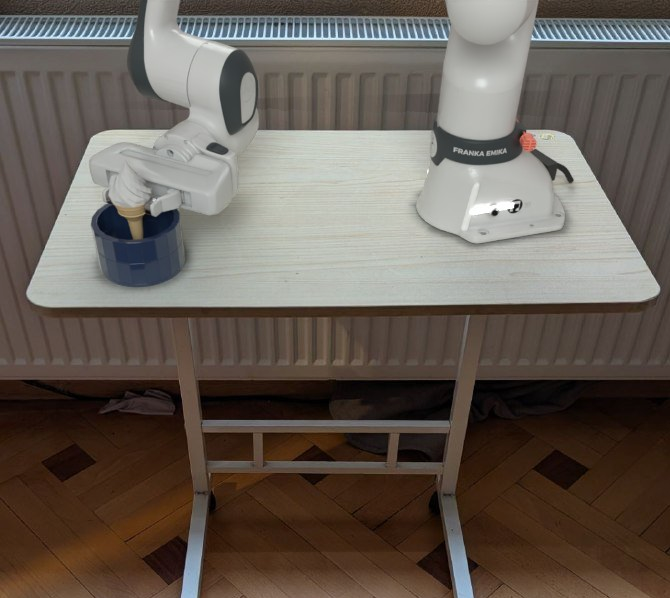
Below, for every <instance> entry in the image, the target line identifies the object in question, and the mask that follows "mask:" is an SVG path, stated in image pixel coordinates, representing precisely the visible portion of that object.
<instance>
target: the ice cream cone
mask: <svg viewBox="0 0 670 598" xmlns="http://www.w3.org/2000/svg"><path fill="white" fill-rule="evenodd" d="M146 183H147V182H145V181H144V180H143V179H142V178H141V177H139V176H138V175H137V173H136V172H135V171H134V170H133V169H132V168H131V167H130V166H129V164H128V163H127V162H126V160H125V161H124V164H123V166H122V169H121V171H120V173H119V174H118V176H117V178H116V180H115V181H114V183H113V185H112V186H111V188H110V189H109V197H110V200H111V202H112V204H113V205H115V207H116V208H117V210H118V213H119V214H120V215H121V216H124V217H125V218H126V219H127V220H128V224H129V227H130V231H131V234H132V237H133V240H136V239H143V222H142V217H143V215H144V214H145V208H144V204H145V202H147V201H149V199H150V198H151V194H152V188H147V187H146V186H145V185H144V184H146Z"/></svg>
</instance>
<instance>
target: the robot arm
mask: <svg viewBox="0 0 670 598" xmlns="http://www.w3.org/2000/svg"><path fill="white" fill-rule="evenodd" d="M539 1H540V0H444V2H445V7H446V11H447V17H448V19H449V23H450V27H449V33H448V39H447V43H446V49H445V53H444V59H443V64H442V72H441V79H440V80H441V81H440V89H439V99H438V108H437V114H436V115H435V117H434V119H433V124H432V129H431V134H430V142H429V156H430V159H429V160H430V161H429V165H428V169H427V172H426V176H425V180H424V183H423V186H422V188H421V189H422V190H421V191H420V194H419V196H418V199H417V200H416V203H415V209H416V211H417V214H418V216H419V217H420V218H421V219H422V220H423V221H424V222H426V223H427V224H429V225H430V226H432V227H434V228H436V229H438V230H440V231H443V232H447V233H450V234H453V235H456V236H458V237H460V238H462V239H463V240H465V241H466V242H469V243H472V244H484V243H490V242H496V241H501V240H508V239H514V238H519V237H526V236H532V235H537V234H538V235H539V234H544V233H549V232H555V231H560V230H562V229H563V227H564V224H565V219H566V213H565V208H564V207H563V204H562V202H561V200H560V199H559V196H557V194H556V193H555V192H554V181H555V180H556V177H557V171H558V170H559V171H560V172H562V173H563V175H564V176H565V178H566V180H567V183H569V184H572V183H574V181H575V180H574V177H573V176H572V174H571V172H570V170H569V168H568V167H566V165H564V164H562V163H559V162H557V161H556V160H554V159H552V158H551V157H549V156H548V155H547V154H545V153H544V152H542V151H541V150H539V149H537V147H536V146H537V145H538V142H537V140H536V139H535V138H534V135H533V134H532V133H530V132H527V128H526V127H525V126H524V125H523V124H522V123H521V122H520V121H519V120H518V118H517V116H518V112H519V111H518V110H519V106H520V100H521V94H522V89H523V85H524V78H525V74H526V73H525V72H526V67H527V63H528V57H529V53H530V47H531V42H532V37H533V31H534V28H535V27H534V26H535V21H536V15H537V12H538V6H539ZM180 4H181V0H139V6H138V13H137V19H136V24H135V28H134V30H133V33H132V36H131V39H130V42H129V47H128V50H127V57H126V67H127V71H128V74H129V77H130V79H131V81H132V83H133V85H134V86H135V88H136V90H137V91H138V93H139V94H140V95H141V96H143V97H145V98H147V99H152V100H156V101H161V102H165V103H172V104H175V105H178V106H181V107H184V108H186V109H189V115H188V117H187V118H186V119H185V120H182V121H180V122H178V123H177V124H175V125H174V126H173V127H171V128H170V129H169V130H167V131H166V132H165V133H163V134H162V135H161V136H159V137H158V138H157V139H156V140H155V142H154V144H153V147H149V146H145V145H140V144H137V143H133V142H127V141H125V142H124V141H123V142H122V141H121V142H118V143H115V144H112V145H111V146H108V147H106V148H104V149H102V150H100V151H99V152H97V153H95V154H93V155H92V156H91V157H90V159H89V162H88V163H89V165H88V166H89V172H90V175H91V180H92V182H93V183H94V184H95V185H97V186H102V187H105V188H104V189H103V190H102V193H101V196H102V200H103V201H102V202H104V203H106V204H108V203H109V204H112V202H111V200H110V197H109V189H110V188H111V186H112V185H113V183H114V181H115V180H116V178H117V176H118V174H119V173H120V171H121V169H122V166H123V164H124V161H125V160H126V162H127V163H128V164H129V166H130V167H131V168H132V169H133V170H134V171H135V172H136V173H137V175H138V176H139V177H141V178H142V179H143V180H144V181H145V182H147V183H146V184H144V185H145V186H146V187H147V188H152V194H151V198H150V199H149V201H147V202H145V204H144V208H145V213H146V214H148V215H151V216H154V217H157V216H158V215H159V214H160V213H161V212H165V211H169V210H173V209H177V210H178V208H179V209H184V210H188V211H191V212H195V213H198V214H202V215H204V216H215V215H218V214H220V213H221V212H222V211H224V210H225V208H227V207H228V206H229V204H231V202H232V201H233V198H235V197H236V196H237V195H238V193H239V186H240V184H239V183H240V177H239V164H238V158H239V157H240V155H242V154H243V153H244V151H245V150H246V149H247V148H248V147H249V146H250V144H251V143H252V141H253V140H254V138H255V137H256V134H257V133H258V131H259V126H260V114H259V111H258V108H257V105H258V101H259V100H258V99H259V81H258V77H257V73H256V71H255V68H254V65H253V63H252V60H251V59H250V57H249V56H248V54H247V53H246V52H245V51H244V50H242V49H239V48H236V47H234V46H230V45H228V44H225V43H222V42H219V41H215V40H211V39H207V38H203V37H200V36H197V35H194V34H191V33H188V32H186V31H185V32H184V31H183V30H182V29H181V28H180V26H179V24H178V14H179V8H180Z"/></svg>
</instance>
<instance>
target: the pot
mask: <svg viewBox="0 0 670 598" xmlns="http://www.w3.org/2000/svg"><path fill="white" fill-rule="evenodd" d="M142 222H143V239H136V240H133V237H132V234H131V231H130V227H129V224H128V220H127V219H126V218H125V217H124V216H121V215H120V214H119V213H118V210H117V208H116V207H115V205H113V204H109V203H106V204H104V205H102V206H101V207H100V208H98V209H97V210H96V211H95V212H94V214H93V215H92V217H91V222H90V228H91V233H92V237H93V242H94V248H95V252H96V256H97V262H98V266H99V269H100V272H101V274H102V275H103V277H104V278H105V279H107V280H108V281H109V282H112V283H114V284H117V285H119V286H123V287H130V288H144V287H151V286H155V285H159V284H162V283H165V282H167V281H169V280H171V279H173V278H174V277H176V276H177V275H178V274H180V272H181V271H182V270H183V268H184V265H185V262H186V259H185V248H184V238H183V237H184V236H183V230H182V229H183V228H182V220H181V213H180V211H179V210H178V208H177V209H173V210H169V211H165V212H161V213H160V214H159V215H158V216H157V217H154V216H151V215H148V214H146V213H145V214H144V215H143V217H142Z"/></svg>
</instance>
